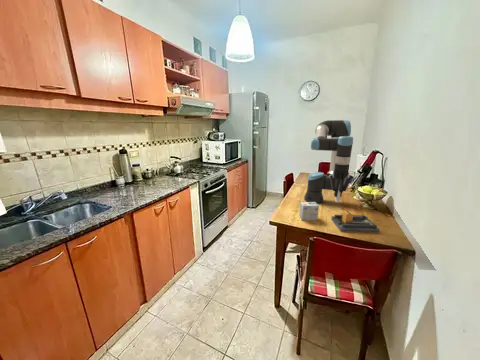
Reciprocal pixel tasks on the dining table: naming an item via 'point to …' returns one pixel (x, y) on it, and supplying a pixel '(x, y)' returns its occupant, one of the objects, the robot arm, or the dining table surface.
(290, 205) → the dining table surface
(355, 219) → the breaker panel
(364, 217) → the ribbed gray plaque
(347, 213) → the lever
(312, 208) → the light bulb box
